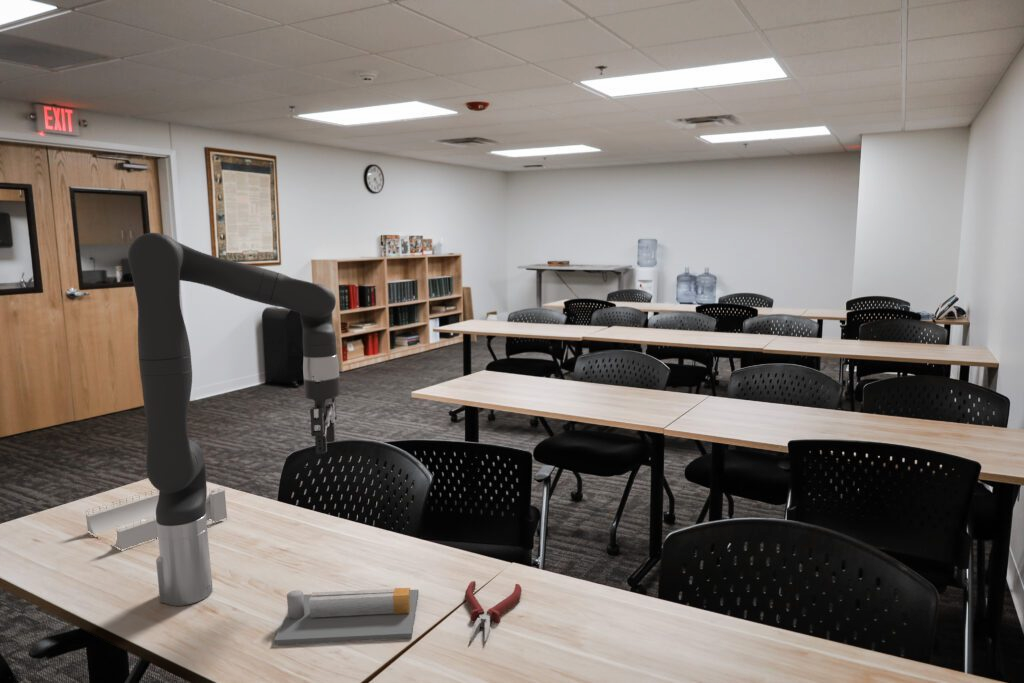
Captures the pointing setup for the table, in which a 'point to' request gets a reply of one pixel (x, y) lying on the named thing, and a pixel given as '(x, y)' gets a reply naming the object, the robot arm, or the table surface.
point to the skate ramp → (145, 517)
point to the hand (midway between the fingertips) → (325, 447)
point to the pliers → (493, 612)
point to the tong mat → (341, 624)
